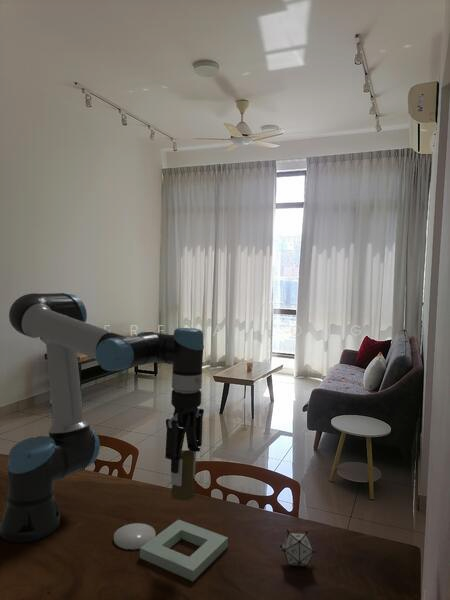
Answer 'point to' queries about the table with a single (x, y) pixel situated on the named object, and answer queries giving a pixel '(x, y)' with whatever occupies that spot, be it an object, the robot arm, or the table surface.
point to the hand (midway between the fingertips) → (183, 479)
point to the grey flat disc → (133, 536)
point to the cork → (185, 478)
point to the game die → (297, 549)
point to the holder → (178, 562)
